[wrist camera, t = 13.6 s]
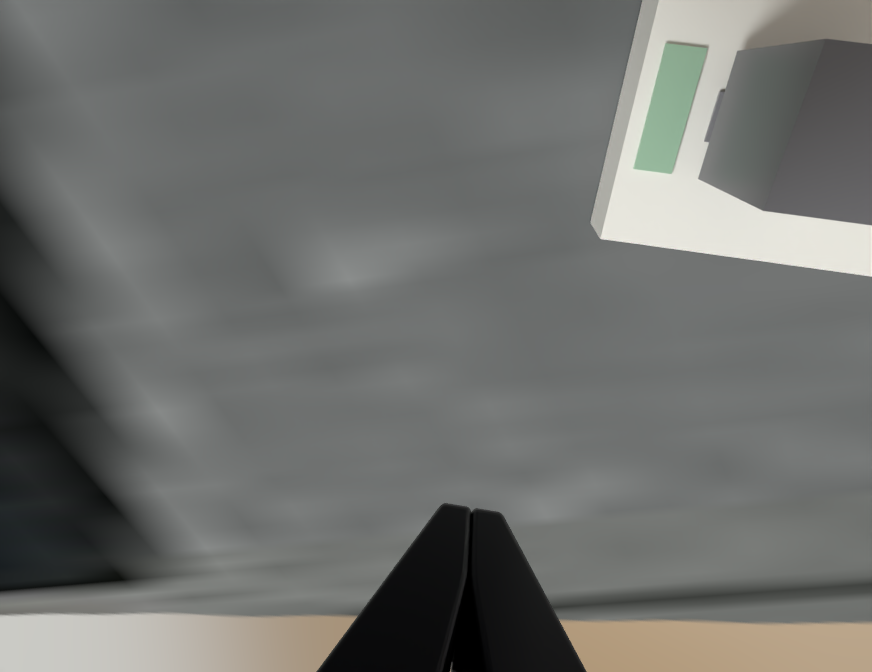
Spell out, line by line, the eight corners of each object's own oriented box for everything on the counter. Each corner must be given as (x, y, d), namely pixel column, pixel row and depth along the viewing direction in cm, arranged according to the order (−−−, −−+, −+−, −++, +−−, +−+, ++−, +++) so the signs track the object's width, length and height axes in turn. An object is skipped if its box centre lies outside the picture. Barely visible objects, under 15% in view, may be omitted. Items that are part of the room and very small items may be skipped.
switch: (697, 178, 14) (762, 211, 11) (736, 50, 13) (825, 39, 10) (815, 194, 14) (920, 232, 11) (866, 66, 13) (1006, 60, 9)
